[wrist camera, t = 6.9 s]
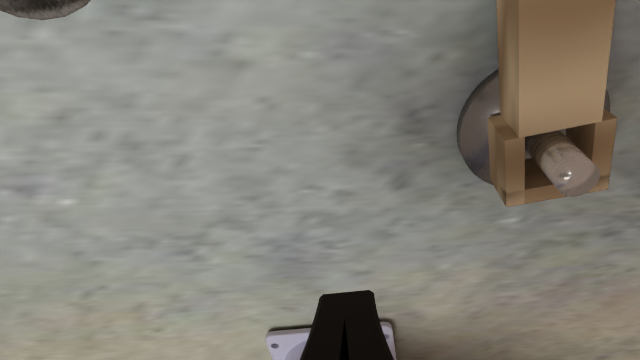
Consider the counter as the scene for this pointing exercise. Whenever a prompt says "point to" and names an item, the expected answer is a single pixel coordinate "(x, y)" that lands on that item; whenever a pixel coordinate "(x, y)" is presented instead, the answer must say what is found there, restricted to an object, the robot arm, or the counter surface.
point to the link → (550, 90)
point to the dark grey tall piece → (41, 8)
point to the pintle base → (546, 148)
